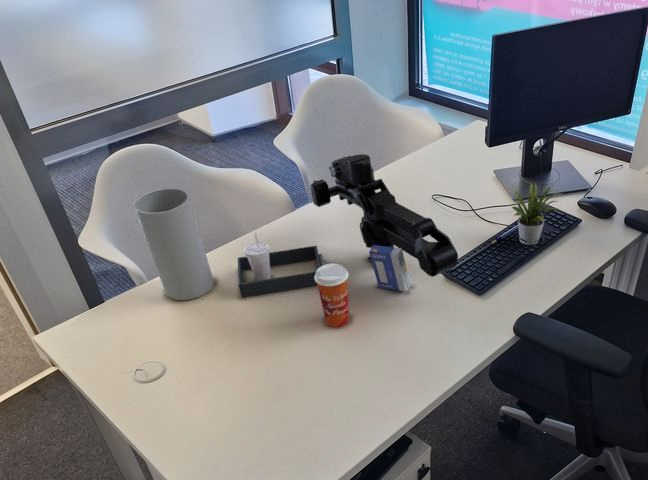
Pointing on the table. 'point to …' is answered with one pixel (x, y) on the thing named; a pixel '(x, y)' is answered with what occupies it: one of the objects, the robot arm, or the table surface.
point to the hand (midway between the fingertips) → (327, 177)
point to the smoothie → (259, 259)
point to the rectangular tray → (280, 282)
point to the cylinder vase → (175, 243)
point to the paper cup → (333, 293)
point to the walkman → (389, 268)
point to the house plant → (532, 215)
